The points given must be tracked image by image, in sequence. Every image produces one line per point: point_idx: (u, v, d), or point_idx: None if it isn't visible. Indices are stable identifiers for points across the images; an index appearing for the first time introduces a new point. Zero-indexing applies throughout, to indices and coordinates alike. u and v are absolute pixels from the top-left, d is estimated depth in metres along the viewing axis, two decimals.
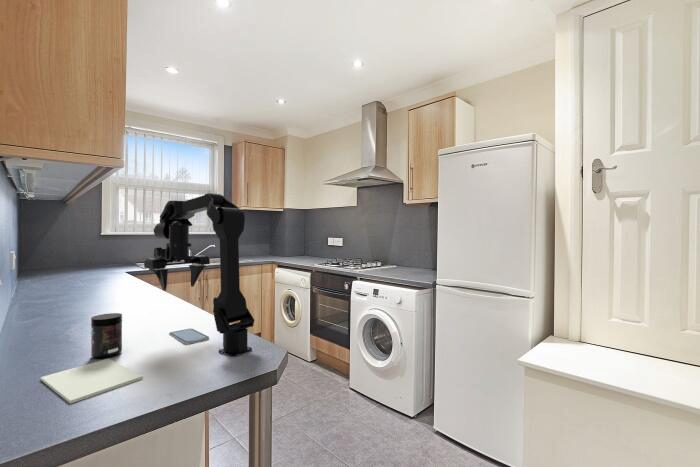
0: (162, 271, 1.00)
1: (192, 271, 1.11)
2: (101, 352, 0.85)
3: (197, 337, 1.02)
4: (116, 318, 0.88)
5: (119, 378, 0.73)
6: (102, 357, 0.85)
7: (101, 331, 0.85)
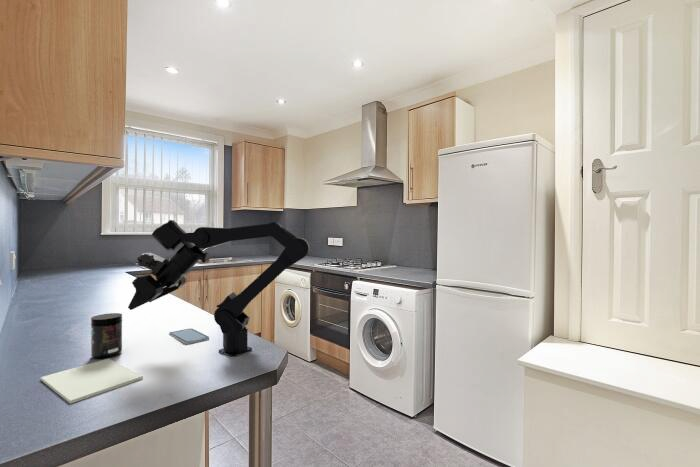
0: (151, 299, 0.83)
1: None
2: (101, 352, 0.85)
3: (197, 337, 1.02)
4: (116, 318, 0.88)
5: (119, 378, 0.73)
6: (102, 357, 0.85)
7: (101, 331, 0.85)
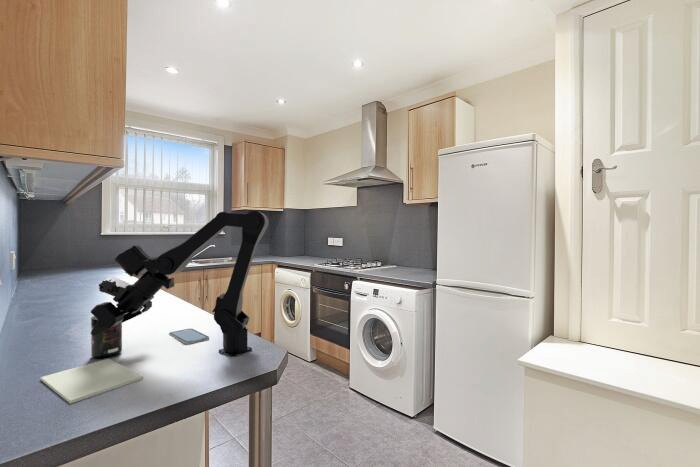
0: (114, 326, 0.83)
1: None
2: (101, 352, 0.85)
3: (197, 337, 1.02)
4: None
5: (119, 378, 0.73)
6: (102, 357, 0.85)
7: None
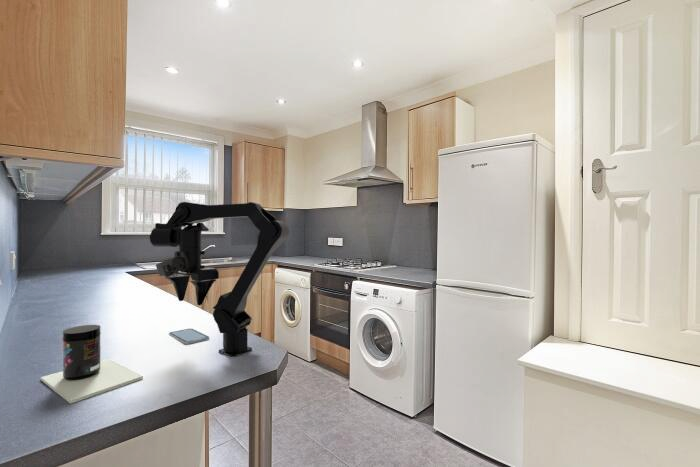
0: None
1: (179, 283, 0.95)
2: (82, 371, 0.73)
3: (197, 337, 1.02)
4: (98, 329, 0.75)
5: (119, 378, 0.73)
6: (83, 377, 0.73)
7: (82, 346, 0.72)
